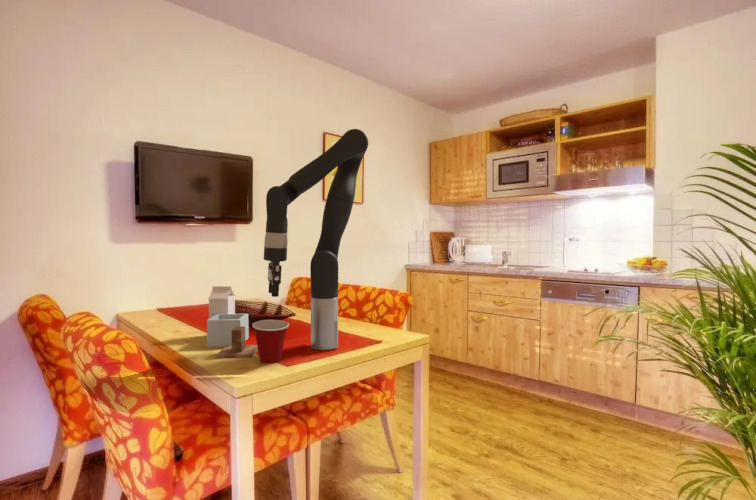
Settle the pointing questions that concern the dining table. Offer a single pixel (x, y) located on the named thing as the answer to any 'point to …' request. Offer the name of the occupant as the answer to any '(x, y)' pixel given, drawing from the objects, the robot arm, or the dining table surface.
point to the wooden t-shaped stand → (237, 346)
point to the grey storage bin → (225, 328)
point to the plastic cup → (270, 339)
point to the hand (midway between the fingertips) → (273, 294)
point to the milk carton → (221, 301)
